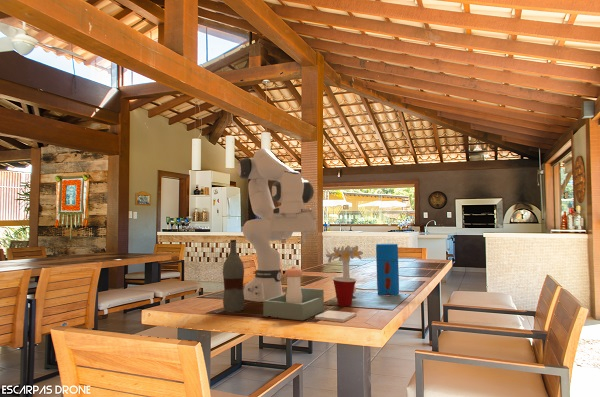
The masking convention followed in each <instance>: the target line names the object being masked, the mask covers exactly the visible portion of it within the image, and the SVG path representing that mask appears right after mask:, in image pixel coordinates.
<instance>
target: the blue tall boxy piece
mask: <svg viewBox="0 0 600 397" xmlns="http://www.w3.org/2000/svg"><path fill="white" fill-rule="evenodd" d="M375 251H376V252H375V255H376V258H375V259H376V290H377V294H378V295H379V296H384V295H385V296H386V295H394V296H399V295H398V294H400V278H399V277H400V275H399V274H400V273H399V272H400V270H399V269H400V268H399V247H398V243H376V246H375ZM386 297H387V296H386Z"/></svg>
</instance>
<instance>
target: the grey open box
mask: <svg viewBox="0 0 600 397" xmlns="http://www.w3.org/2000/svg"><path fill="white" fill-rule="evenodd" d="M284 288H285V289H284V290H285V291H284V292H285V294H284V293H283V295H281V296H278V297H274V298H271V299H268V300H264V301H263V304H262V308H263V310H262V311H263V317H268V316H271V317H270V318H277V317H278V318H277V319H279V318H280V319H288V320H295V321H305V320H307V319H310V318H312V317H315V316H317V315H319V314H321V313H324V312H325V298H324V294H325V293H324V289H323V288H322V289H321V288H310V287H309V288H306V287H301V292H302V304H299V303H288V302H286V292H287V286H285V287H284Z"/></svg>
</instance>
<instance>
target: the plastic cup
mask: <svg viewBox="0 0 600 397" xmlns="http://www.w3.org/2000/svg"><path fill="white" fill-rule="evenodd" d="M332 280H333V284H334V285H333V286H334V292H335V297H336V302H337V305H338V306H339V307H344V308H345V307H351V306H352V303H353V297H354V294H353V291H354V286H355V287H356V282H357V281H358V280H357V279H356V278H352V277H350V278H346V277H343V276H341V277H340V276H335V277H332Z"/></svg>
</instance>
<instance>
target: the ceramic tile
mask: <svg viewBox="0 0 600 397" xmlns="http://www.w3.org/2000/svg"><path fill="white" fill-rule="evenodd" d="M356 316H357V312H349V311H340V310H329V309H328V310H327V311H324V312H321V313H319V314H317V315H314V320H321V321H322V320H323V321H331V322H340V323H345V322H346V321H348V320H351V319H352V318H354V317H356Z"/></svg>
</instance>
